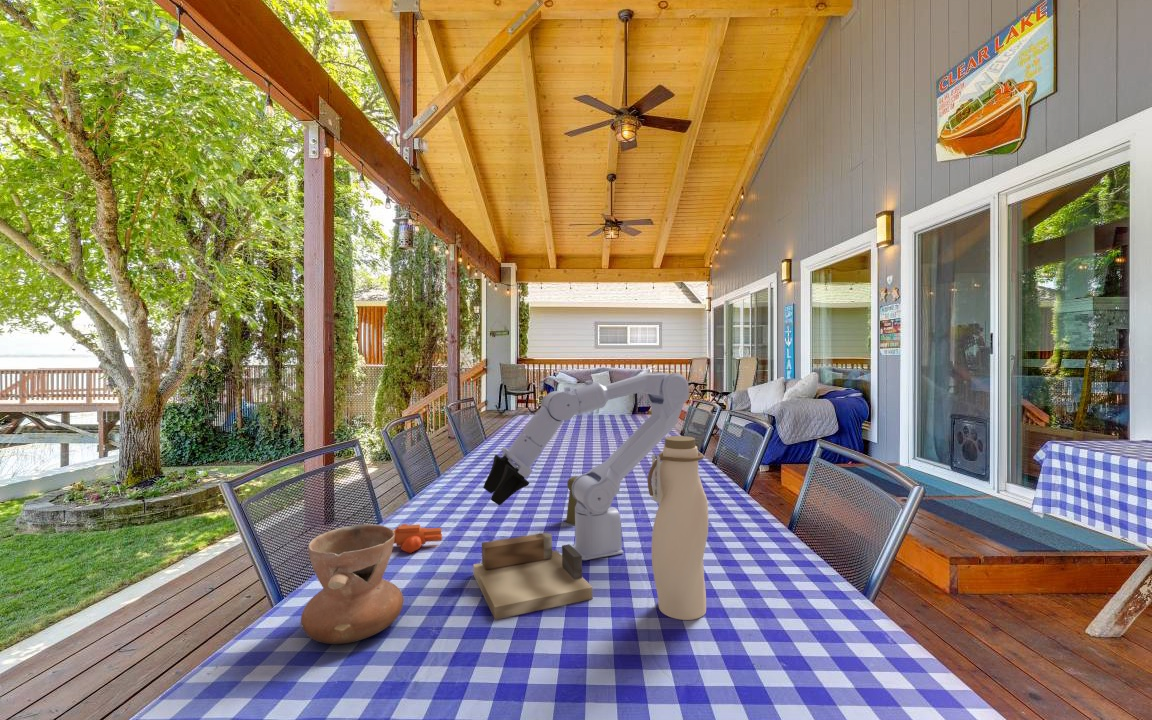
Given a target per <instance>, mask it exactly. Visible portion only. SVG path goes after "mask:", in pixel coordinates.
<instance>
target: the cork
mask: <svg viewBox="0 0 1152 720" xmlns="http://www.w3.org/2000/svg"><path fill="white" fill-rule="evenodd" d="M577 477H578V476H571V477H570V478H568V479H567V485H566V486H567V489H568V490H569V495H568V504H567V512H566V518H565V519H566V523H568V524H569V525H570V524H571V525H575V506H576V504H577V500H576V499H575V498H574V496H573V494H572V484H573V482H574V480H575V479H576V478H577Z"/></svg>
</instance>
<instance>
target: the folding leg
mask: <svg viewBox="0 0 1152 720" xmlns="http://www.w3.org/2000/svg"><path fill="white" fill-rule="evenodd" d="M552 551H553V534H551V533H548V532H541V533H540V532H539V533H535V534H529V535H524V536H523V535H522V536H517V537H516V536H515V537H510V538H509V537H508V538H504V539H503V538H502V539H496V540H492V541H491V540H490V541H483V542H481V563H482V564H483V566H484V568H485V570H486V569H491V568H497V567H503V566H508V565H514V564H520V563H526V562H531V561H537V560H543V559H549V558H551V557H552Z"/></svg>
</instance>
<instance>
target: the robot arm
mask: <svg viewBox="0 0 1152 720" xmlns="http://www.w3.org/2000/svg"><path fill="white" fill-rule="evenodd" d="M563 389H564V390H563V391H559V390H555V391H554V390H553V391H550V392H549V393H547V395H544V396H543V397H542V400H541V405H540V408H539V409H538V410H537V412H536V413H535V414H534V415H533V416H532V417H531V419H530V420H529V421H528V422H527V423H526V424H527V425H525V427H524V428H523V429H522V431H521V432H520V433H519V435H518V436H517V438H516V439H515V440H514V441H513V443H512V444H511V445H510V447H509V448H506V447H505V446H504V447H502V448H501V451H502V452H503V453H502V454H501V456H499V455H498V454H495V455H494V457H493V462H492V466H491V468H490V472H489V474H488V476H487V478H486V480H485V482H484V484H483V487H482V489H484V490H485V491H487V492H488V493H490V494H492V495H491V498H490V500H491V501H492V502H493V503H495V504H496V505H498V506H500V505H502V504H503V503H504V502H506V501H507V500H508V499H509V498H510V497H512V495H514V494H515V493H516V492H518V491H519V490H521V489H524V488H525V487H528V486H529V484H530V482H529V481H528V480H527V479H528V478H529V476H530V475H531V474H532V472H533V469H532V468H531V467H532V466H533V464H534V462H535V461H536V460H537V459H538V457H540V455H541V453H542V452H543V450H544V449H545V448H546V447H547V445H548V444H549V442H550V441H551V440H552V438H553V437H554V435H556V433H557V431H558V430H559V428H560V426H561V425H562V424H563V423H564V421H570V420H571V419H573V417H574V416H577V415H581V414H584V413H588V412H591V411H595V410H598V409H603V408H604V407H605V406H606V404H607V403H608V401H609V400H614V399H618V398H623V397H627V396H630V395H635V394H639V393H642V394H646V395H647V398H648V401H649V404H650V410H651V415H650V416H649V417H648V418H647V419H646V420H645V421H644V422H643V423H642V424H641V425H640V426H639V427H638V428H637V429H636V430H635V431H634V432H633V433H632V434H631V435H630V436H629V437H628V438H626V440H624V442H623V443H622V444H621V445H620V446H619V447H618V448H617V449H616V450H615V451H614V452H613V453H612V454H611V455H610V456H609V457H608V458H607V459H606V460H605V461H603V463H601V464H599V465H596V466H595V467H592V468H590V470H589V471H587V472H585V473H582V474H580V475H578V476H576V477H577V478H576V479H575V480H574V482H573V484H572V494H573V496H574V498H575V499H576V500H577V504H576V506H575V524H574V528H575V529H574V530H575V531H574V532H575V535H574V537H575V540H574V541H575V543H574V544H570V545H571V546H572V547H573V548H574V549H575V550H576V551H577V552H578V553H579V554H580V555H581V556H582V561H588V560H595V559H599V558H600V559H601V558H604V557H609V556H616V555H621V554H624V550H623V549H622V547H623V546H622V539H623V538H622V519H621V514H620V512H619V510H618V509H617V508H616V507H613V506H612V504H613V501H614V498H615V497H616V495H617V494H618V493H619V492H620V489H621V481H622V480H624V478H625V477H627V475H629V474H630V473H631V472H632V471H633V470H634V469H635V467H636V466H637V465H638V464H640V462H641V461H642V460H643V459H644V458H645V457H646V456H647V455H648V454H650V453H651V451H652V450H653V449H654V448H655V447H656V446H657V445H658V444H659V443H660V442H661V441H662V440H663V439H665V438H666V437H667V435H669V433H670V432H671V431H672V430H673V429H674V428H675V427H676V425H677V424H678V421H679V418H680V415H681V413H682V410H683V407H684V404H685V403H686V402H687V401H688V400H689V399H690V387H689V382H688V380H687V378H686V377H685V376H684V375H683V374H681V373H678V372H671V373H669V372H668V373H667V372H661V371H654V372H652V373H641V374H638V375H635V376H631V377H628V378H624V379H621V380H619V381H615V382H611V383H608V384H605V385H603V384H601V383H600V382H599V381H593V380H591V379H590V380H585V382H584V384H582V385H578V386H574V387H571V386H565V387H564V388H563Z"/></svg>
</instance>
